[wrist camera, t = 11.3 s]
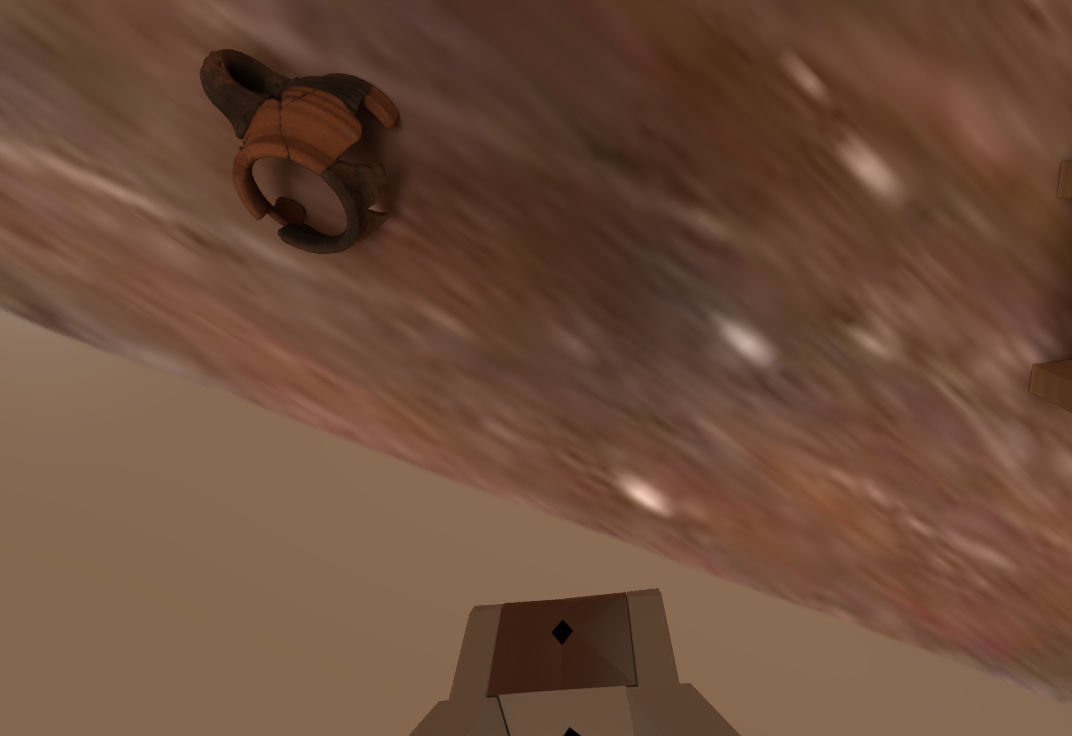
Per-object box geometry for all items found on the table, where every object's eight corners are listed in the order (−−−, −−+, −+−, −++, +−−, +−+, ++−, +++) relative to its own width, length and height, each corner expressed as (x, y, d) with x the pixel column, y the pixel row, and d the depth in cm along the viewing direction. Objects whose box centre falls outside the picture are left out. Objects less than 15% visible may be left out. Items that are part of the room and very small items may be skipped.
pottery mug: (447, 135, 34) (401, 209, 28) (379, 217, 40) (332, 291, 35) (268, -26, 28) (173, 30, 23) (223, 98, 35) (140, 164, 30)
